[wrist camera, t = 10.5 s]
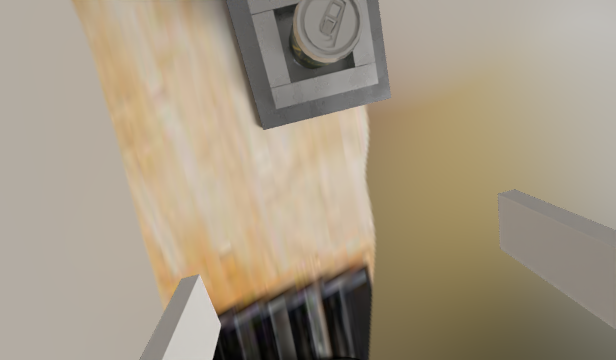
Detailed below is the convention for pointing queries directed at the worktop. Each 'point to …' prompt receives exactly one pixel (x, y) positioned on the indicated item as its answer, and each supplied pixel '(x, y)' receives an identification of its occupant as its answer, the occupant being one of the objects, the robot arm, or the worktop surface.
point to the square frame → (301, 80)
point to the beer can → (324, 31)
